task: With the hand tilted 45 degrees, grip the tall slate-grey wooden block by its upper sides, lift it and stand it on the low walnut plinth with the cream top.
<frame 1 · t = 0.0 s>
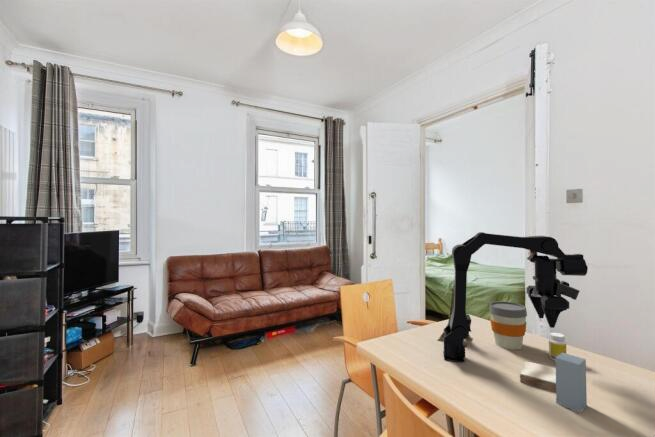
hand: (546, 322, 99), 15 cm above the table, tool pointing down, fingers open, 9 cm apart
slate block: (571, 404, 80), on the table
reusable coffee cup: (508, 345, 117), on the table
eiffel tower: (455, 340, 123), on the table
plinth: (542, 380, 91), on the table
supplement bottle: (557, 359, 105), on the table
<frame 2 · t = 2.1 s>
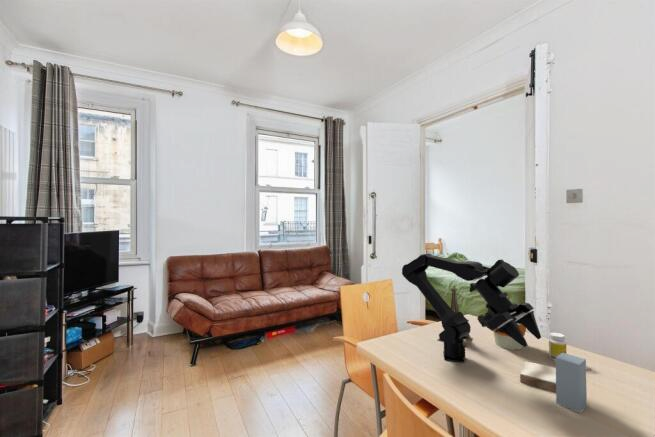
hand: (533, 342, 87), 13 cm above the table, tool tilted 45°, fingers open, 9 cm apart
nothing on the table moved.
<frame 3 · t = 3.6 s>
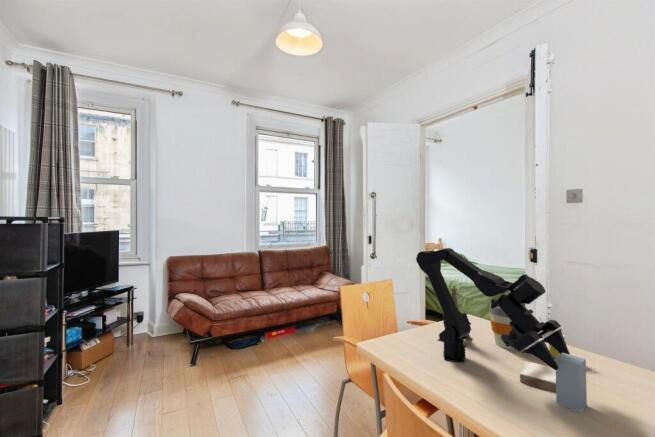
hand: (563, 364, 81), 10 cm above the table, tool tilted 45°, fingers open, 9 cm apart
nothing on the table moved.
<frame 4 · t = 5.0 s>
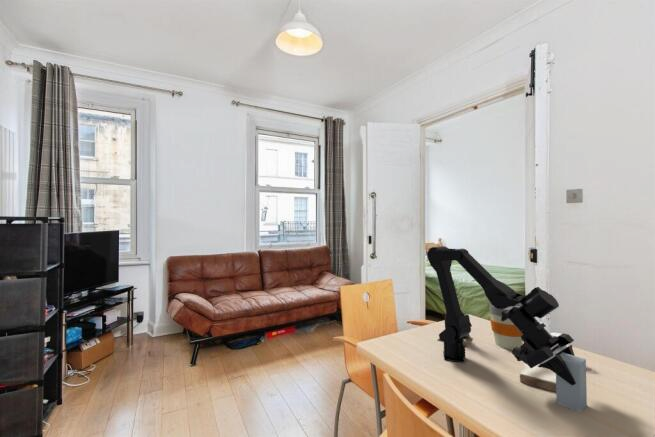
hand: (577, 381, 78), 7 cm above the table, tool tilted 45°, fingers closed on slate block, 5 cm apart
slate block: (571, 404, 80), on the table, touching gripper
everything else where it was.
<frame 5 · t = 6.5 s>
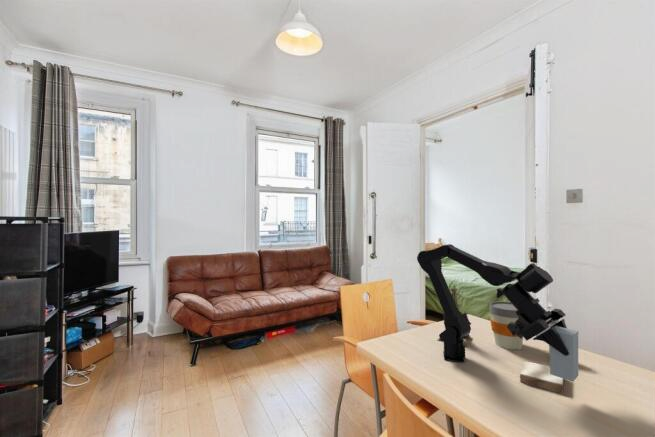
hand: (570, 352, 81), 13 cm above the table, tool tilted 45°, fingers closed on slate block, 5 cm apart
slate block: (564, 374, 82), point 6 cm above the table, touching gripper
everything else where it was.
when the fingers open (10 cm above the table, at t = 8.2 s): slate block stays where it is, resting on plinth.
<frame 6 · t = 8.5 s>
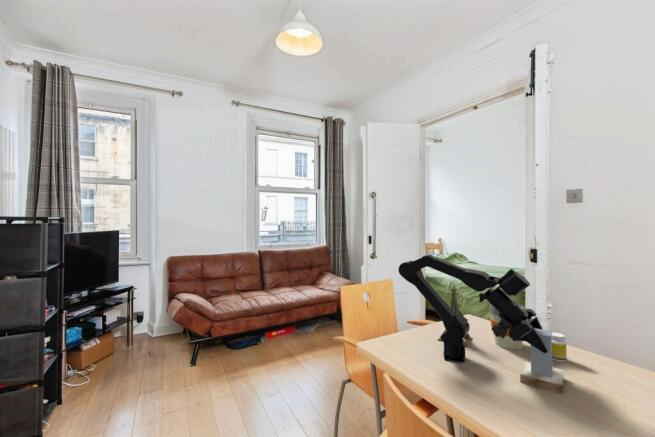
hand: (547, 347, 91), 10 cm above the table, tool tilted 45°, fingers open, 8 cm apart
slate block: (541, 371, 91), point 2 cm above the table, touching plinth
everything else where it was.
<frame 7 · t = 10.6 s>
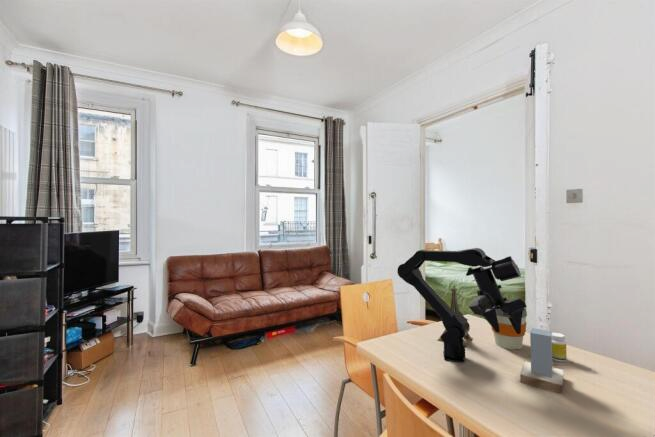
hand: (508, 332, 97), 12 cm above the table, tool tilted 20°, fingers open, 9 cm apart
nothing on the table moved.
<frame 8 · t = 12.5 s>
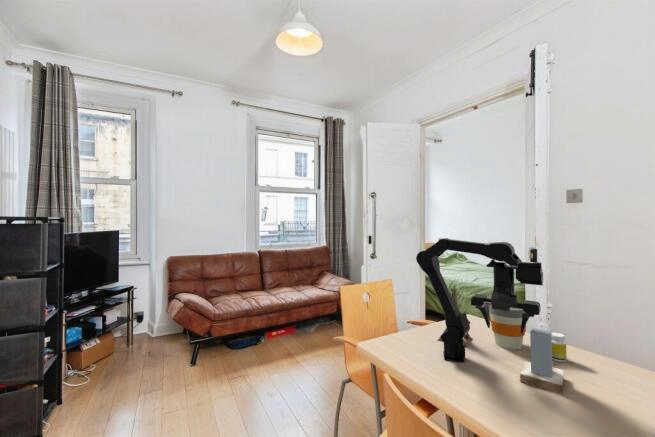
hand: (504, 330, 97), 13 cm above the table, tool pointing down, fingers open, 9 cm apart
nothing on the table moved.
at the end: slate block inside the target area on the plinth (0.1 cm from its centre), point 2.5 cm above the plinth's base; slate block tilted 0°; the gripper is holding nothing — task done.
